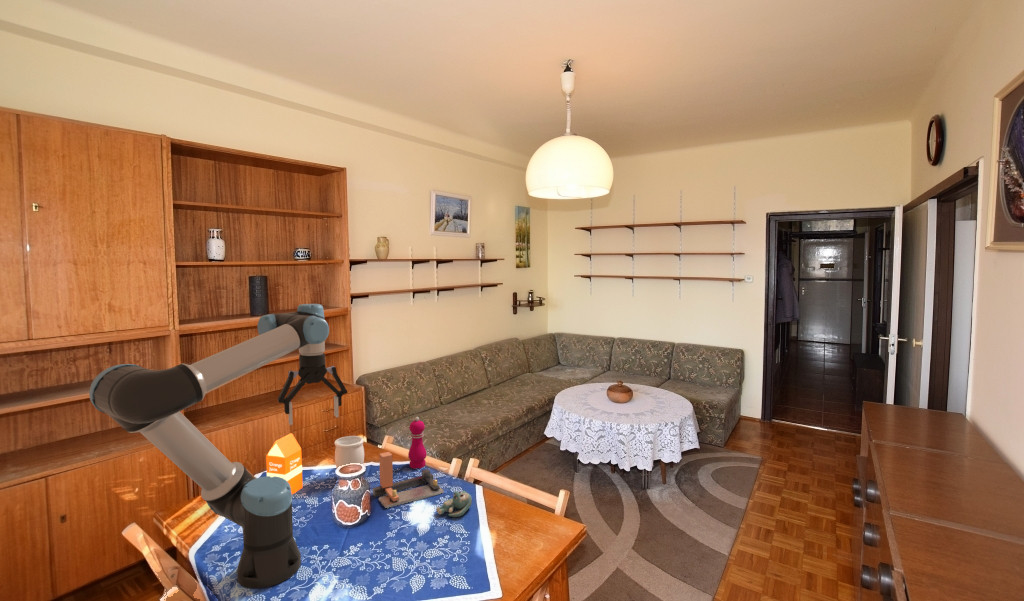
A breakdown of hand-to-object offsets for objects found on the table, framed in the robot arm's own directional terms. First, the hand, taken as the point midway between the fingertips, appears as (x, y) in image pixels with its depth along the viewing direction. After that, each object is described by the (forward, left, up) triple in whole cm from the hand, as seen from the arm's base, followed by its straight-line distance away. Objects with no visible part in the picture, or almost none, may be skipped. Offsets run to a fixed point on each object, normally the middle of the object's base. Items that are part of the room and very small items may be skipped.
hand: (314, 420), depth 153 cm
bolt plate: (-4, -30, -32) cm, 44 cm away
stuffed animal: (-20, -39, -32) cm, 54 cm away
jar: (+22, -16, -32) cm, 42 cm away
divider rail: (0, -31, -32) cm, 44 cm away
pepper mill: (+20, -42, -32) cm, 56 cm away
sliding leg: (0, -24, -30) cm, 39 cm away
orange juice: (+24, +6, -32) cm, 40 cm away
